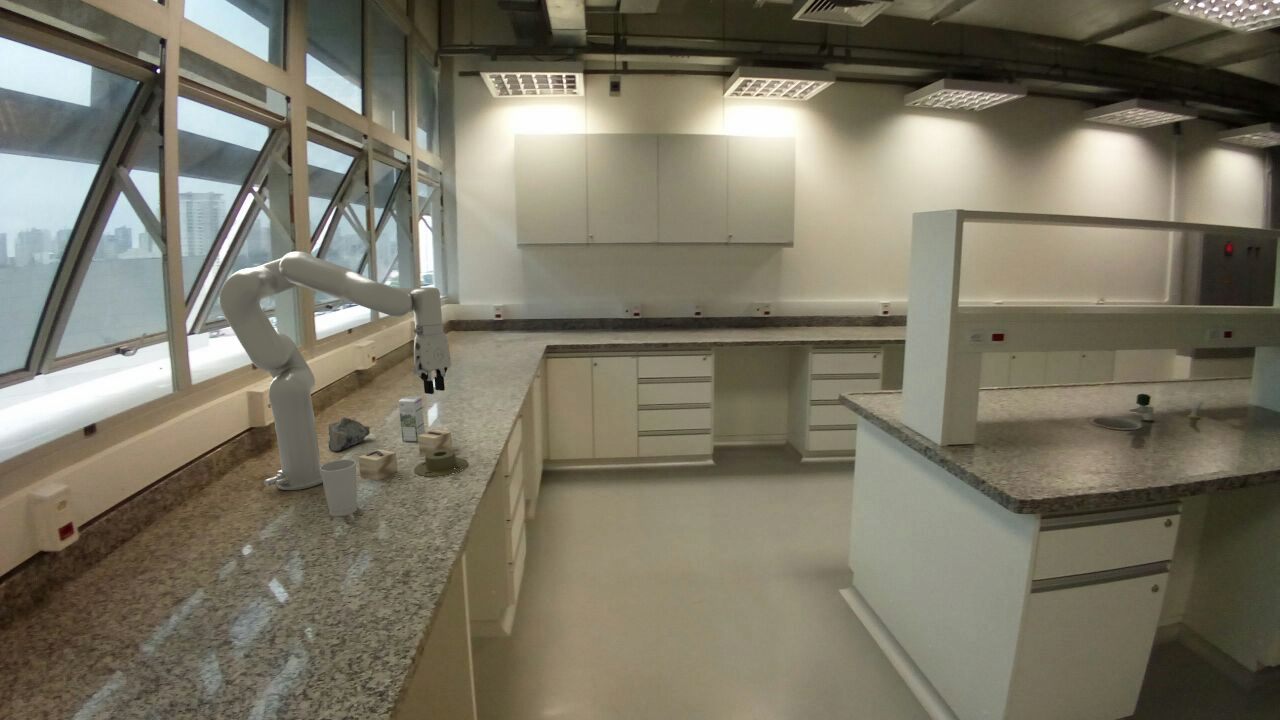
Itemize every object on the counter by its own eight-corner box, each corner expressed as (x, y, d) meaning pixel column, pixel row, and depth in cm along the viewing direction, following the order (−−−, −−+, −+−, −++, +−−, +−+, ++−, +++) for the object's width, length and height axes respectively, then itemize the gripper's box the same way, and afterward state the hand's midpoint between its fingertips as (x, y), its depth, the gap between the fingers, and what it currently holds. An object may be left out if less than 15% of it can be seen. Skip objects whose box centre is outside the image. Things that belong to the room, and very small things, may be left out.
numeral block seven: (378, 480, 165) (375, 459, 164) (360, 476, 168) (358, 455, 167) (397, 471, 172) (395, 451, 170) (380, 468, 175) (378, 448, 173)
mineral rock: (370, 438, 203) (367, 410, 201) (373, 446, 194) (370, 417, 192) (328, 444, 197) (324, 415, 195) (329, 454, 188) (325, 424, 186)
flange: (476, 448, 178) (436, 443, 183) (444, 465, 164) (401, 459, 169) (477, 462, 178) (437, 457, 184) (446, 481, 165) (403, 475, 170)
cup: (366, 503, 150) (361, 458, 148) (352, 517, 142) (347, 470, 140) (334, 504, 150) (329, 459, 148) (319, 518, 142) (313, 471, 140)
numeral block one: (436, 456, 183) (434, 437, 182) (419, 453, 186) (417, 434, 185) (452, 449, 190) (450, 431, 188) (436, 446, 193) (434, 428, 191)
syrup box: (426, 436, 203) (422, 396, 200) (418, 442, 197) (414, 400, 194) (410, 436, 203) (406, 395, 201) (401, 442, 198) (397, 400, 195)
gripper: (416, 335, 161) (422, 399, 165) (459, 327, 176) (464, 386, 179) (397, 333, 165) (403, 397, 168) (440, 326, 179) (445, 384, 183)
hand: (434, 391), depth 174 cm, fingers open, 3 cm apart
